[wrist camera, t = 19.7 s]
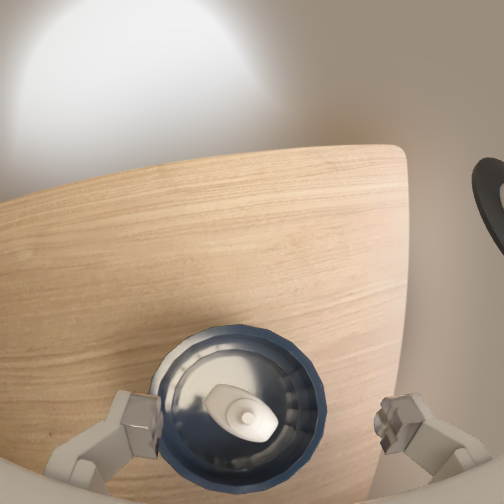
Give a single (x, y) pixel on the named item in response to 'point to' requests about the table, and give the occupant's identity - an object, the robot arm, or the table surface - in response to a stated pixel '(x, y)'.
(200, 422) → the bowl
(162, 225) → the table surface
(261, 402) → the eye dropper bottle
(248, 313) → the table surface
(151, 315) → the table surface
